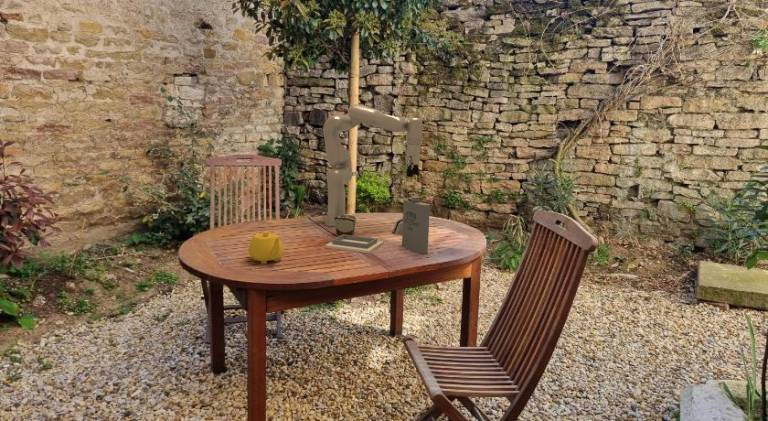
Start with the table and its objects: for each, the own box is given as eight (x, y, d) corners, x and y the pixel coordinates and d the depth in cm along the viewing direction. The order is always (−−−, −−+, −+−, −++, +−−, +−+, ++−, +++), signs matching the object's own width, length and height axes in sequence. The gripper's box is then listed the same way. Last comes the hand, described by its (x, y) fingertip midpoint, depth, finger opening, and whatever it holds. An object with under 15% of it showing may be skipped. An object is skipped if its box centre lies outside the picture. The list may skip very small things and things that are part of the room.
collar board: (325, 247, 233) (325, 240, 232) (342, 238, 249) (342, 232, 249) (368, 253, 225) (369, 246, 225) (383, 244, 242) (383, 237, 241)
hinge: (416, 229, 274) (420, 213, 269) (421, 234, 271) (425, 218, 266) (390, 232, 265) (394, 216, 261) (395, 237, 262) (399, 221, 257)
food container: (360, 235, 257) (360, 216, 255) (354, 238, 252) (355, 218, 250) (339, 232, 262) (339, 213, 260) (333, 235, 257) (333, 215, 255)
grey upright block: (399, 245, 240) (400, 193, 235) (406, 244, 243) (408, 193, 238) (421, 254, 226) (423, 199, 221) (429, 253, 228) (431, 199, 224)
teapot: (265, 269, 199) (265, 239, 196) (240, 258, 213) (240, 229, 211) (294, 263, 208) (294, 234, 206) (268, 252, 222) (268, 225, 220)
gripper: (412, 141, 265) (410, 173, 268) (401, 142, 249) (400, 177, 252) (425, 142, 262) (424, 174, 266) (416, 143, 247) (414, 178, 250)
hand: (412, 175), depth 259 cm, fingers open, 9 cm apart
